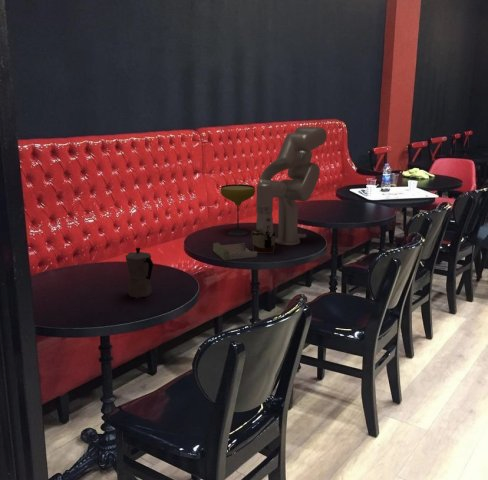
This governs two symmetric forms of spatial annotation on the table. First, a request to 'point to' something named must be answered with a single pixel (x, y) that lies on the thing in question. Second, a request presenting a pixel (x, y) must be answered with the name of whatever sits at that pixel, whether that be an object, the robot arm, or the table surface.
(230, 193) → the cocktail glass
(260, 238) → the food container
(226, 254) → the chute mount
